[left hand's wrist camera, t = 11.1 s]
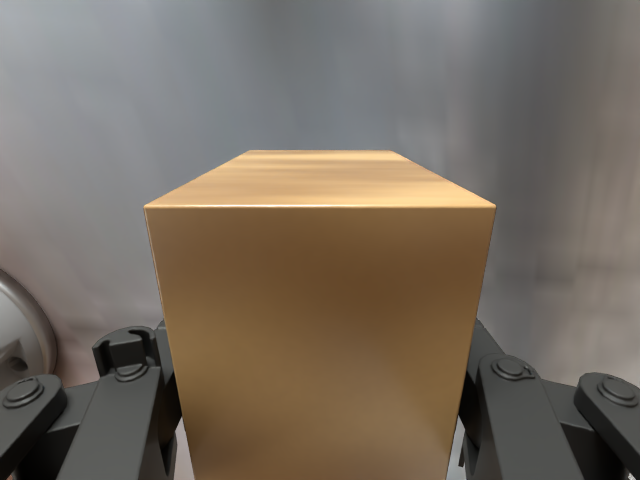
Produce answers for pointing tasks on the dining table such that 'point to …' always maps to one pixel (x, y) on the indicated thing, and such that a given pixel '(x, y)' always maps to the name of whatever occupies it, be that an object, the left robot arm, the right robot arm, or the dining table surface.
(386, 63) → the dining table surface
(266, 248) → the post
